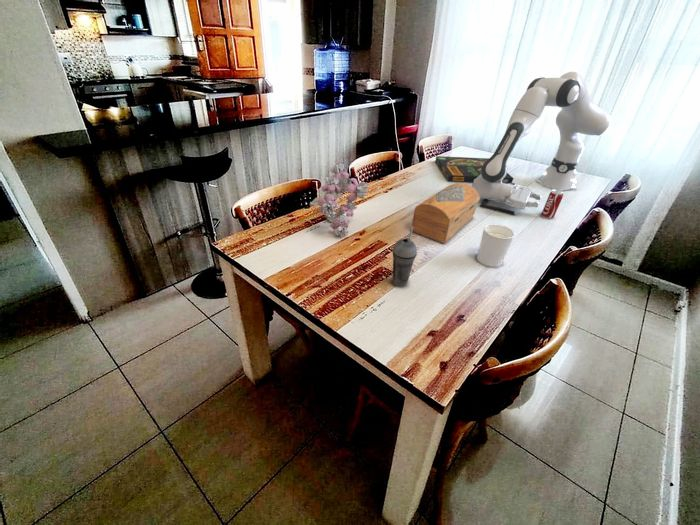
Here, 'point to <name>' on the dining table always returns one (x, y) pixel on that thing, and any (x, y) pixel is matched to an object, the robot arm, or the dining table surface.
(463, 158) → the pizza box
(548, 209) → the soda can
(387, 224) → the dining table surface
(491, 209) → the bay
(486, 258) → the candle holder
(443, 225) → the wooden box
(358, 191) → the pink flower bunch
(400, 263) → the beverage cup
